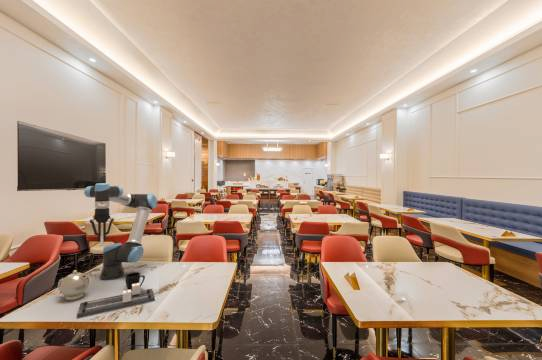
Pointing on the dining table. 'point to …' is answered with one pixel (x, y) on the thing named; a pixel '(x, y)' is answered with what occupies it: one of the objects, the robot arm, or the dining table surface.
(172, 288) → the dining table surface
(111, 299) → the console
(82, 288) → the teapot
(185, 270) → the dining table surface
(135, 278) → the mug
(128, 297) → the fader
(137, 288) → the fader
